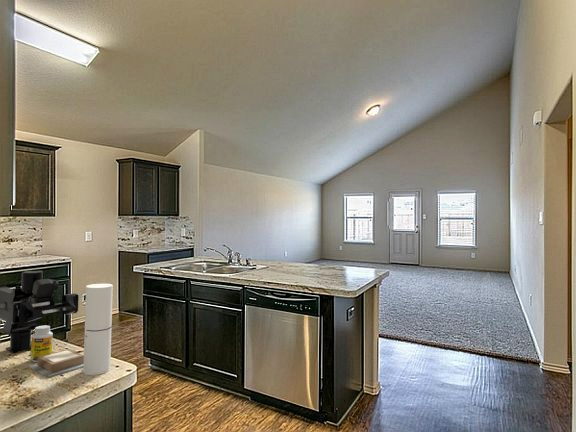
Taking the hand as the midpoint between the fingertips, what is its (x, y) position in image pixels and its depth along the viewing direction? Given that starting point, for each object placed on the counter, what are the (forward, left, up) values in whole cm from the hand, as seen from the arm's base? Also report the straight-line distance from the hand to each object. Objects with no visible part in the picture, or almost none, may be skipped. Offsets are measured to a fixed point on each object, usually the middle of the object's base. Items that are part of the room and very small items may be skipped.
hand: (59, 312), depth 114 cm
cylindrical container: (+11, +6, -17) cm, 21 cm away
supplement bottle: (-10, 0, -17) cm, 20 cm away
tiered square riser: (0, +1, -16) cm, 17 cm away
